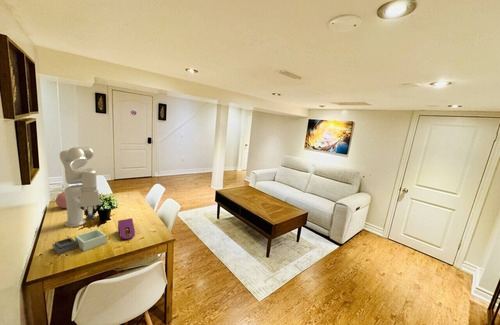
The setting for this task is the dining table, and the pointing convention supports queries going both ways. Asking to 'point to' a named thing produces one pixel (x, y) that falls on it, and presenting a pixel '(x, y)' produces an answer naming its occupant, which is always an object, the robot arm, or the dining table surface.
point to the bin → (91, 239)
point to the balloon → (62, 200)
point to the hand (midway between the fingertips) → (90, 214)
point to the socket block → (64, 245)
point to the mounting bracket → (126, 225)
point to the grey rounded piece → (90, 213)
